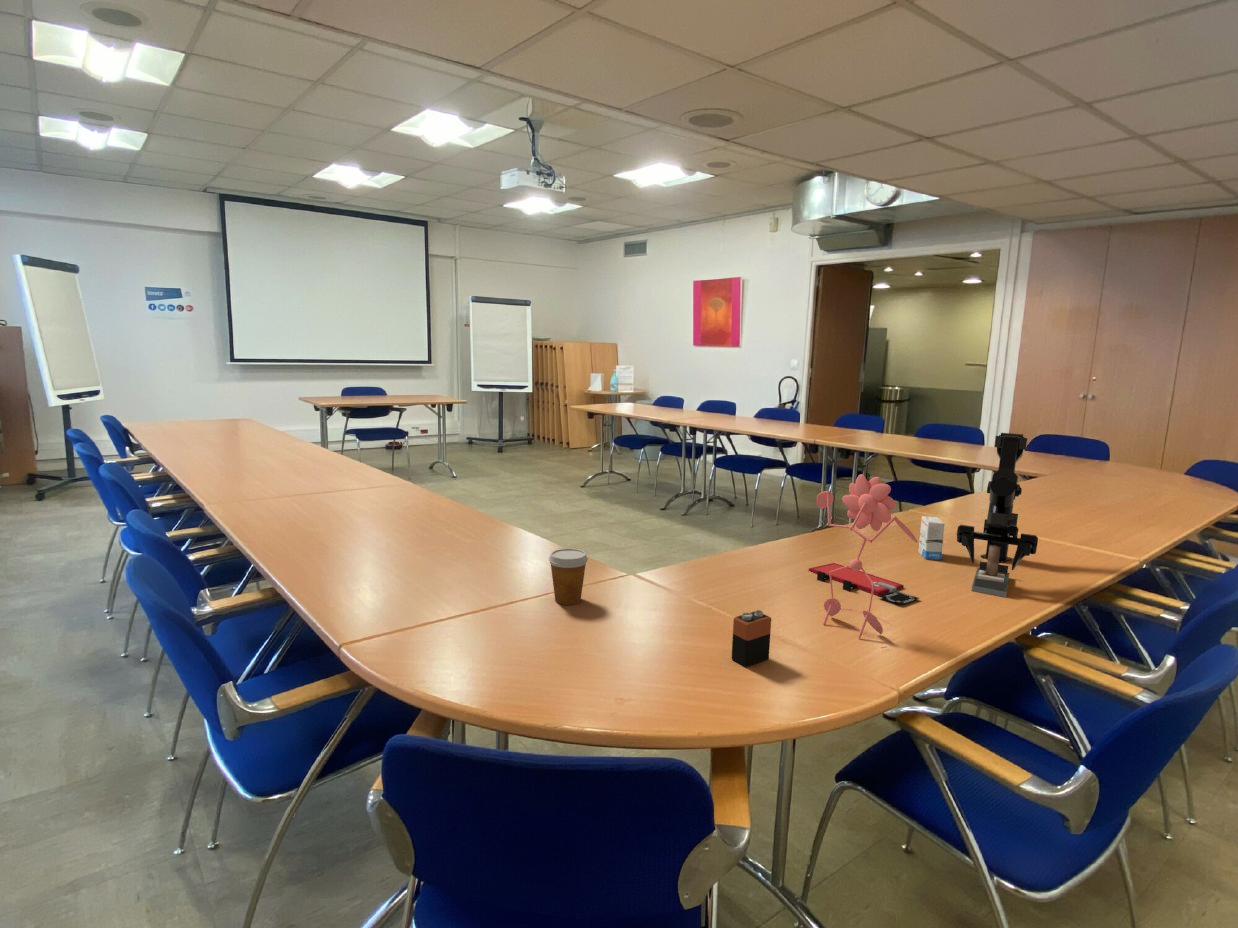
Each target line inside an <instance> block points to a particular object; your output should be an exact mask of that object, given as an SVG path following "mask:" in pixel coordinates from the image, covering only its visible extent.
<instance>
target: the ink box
mask: <svg viewBox="0 0 1238 928" xmlns="http://www.w3.org/2000/svg"><path fill="white" fill-rule="evenodd" d="M920 521H921V523H920V531H919V532H920V533H919V543H918V553H919V554H920V555H921V556H922V557H923V558H924V559H925V560H932V561H933V560H935V561H942V558H943V557H942V555H943V545H944V534H945V523H944V522H943V521H942V520H941V519H940V518H939V517H937V516H925V515H922V516H921V520H920Z"/></svg>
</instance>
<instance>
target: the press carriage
mask: <svg viewBox="0 0 1238 928" xmlns="http://www.w3.org/2000/svg"><path fill="white" fill-rule="evenodd" d="M999 556H1000V547H999V546H993V545H991V546H989V552H988V559H987V561H986V562H987V568H986V571H982V570H979V573H978V579H984V580H990V581H995V582H1001V583H1004V577H1005V574H999V573H997V572H998V564H1000V562H999Z"/></svg>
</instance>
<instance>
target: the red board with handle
mask: <svg viewBox="0 0 1238 928" xmlns="http://www.w3.org/2000/svg"><path fill="white" fill-rule="evenodd" d="M845 566H846V565H842V564H839V563H835V562H832V563H827V564H824V565H818V566H813V567H809V568H808V572H809V571H810V572H809V573H812V572H813V573H812V574H815V575H817V576H816V580H817V581H819V582H822V583H823V582H825V580H826V579H827V580H830V575H829V572H830V571H832V570H836V569H839V568H842V567H845ZM866 573H867V575H868V576H869V577H870V579H871V580H872V581H873V583H874V591H873V595H876V596H877V597H879V598H882V599H883V600H888V601H889V602H892V603H896V604H898V605H903V604H905V603H909V602H912V601H915V600H919V599H920V597H917V596H915V595H914V596H913V595H911V594H908V593H905V592H903V591H899V590H902V589H904V588H905V585H904V584H902V583H899V582H896V581H892V580H889V579H886V578H883V577H880V576H877V575H874V574H871V573H868V572H866ZM831 577H832V581H835V582H838V583H840V584H842V590H844V591H846V592H851V591H852V588H854V589H857V590H861V591H863V592H867V593H869V594H871V593H872V586H873V584H872V583H871V581H870V580H869V579H868V577H867V576H866V575H865V573H864V572H863V571H862V570H859V571H854V570H852V569H851V568H850V567H847V568H844V569H841V570H838V571H834V572H831Z"/></svg>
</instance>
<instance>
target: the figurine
mask: <svg viewBox="0 0 1238 928" xmlns="http://www.w3.org/2000/svg"><path fill="white" fill-rule="evenodd" d="M848 490H849V494H846V495H843V496H842V497H841V500H842V503H843V505H844V506H845V507H847V508H848V510H847V512H846V513H847V517H848V518H849V519H852V520H854V521H853V523H852V525H844V524H843V525H842V524H834V523H832V522H831V521H832V519H831V505H833V502H834V494H833V493H832V492H831V491H830V490H826V491H822V492H820V493H818V494H817V496H816V499H815V503H816V505H817V508H819V510H823V509H826V508H827V524H828V527H833V528H834V527H835V528H843V529H849V530H850V531H851V532H852V531H853V532H854V533H856V535H858V536H859V537H861V539H863V542H862V544H861V547H860V549H859V552H858V554H857V557H856V558H854V559H851V560H850V562H849V565H844V566H845V567H842V568H839V569H836V570H832V571H830V572H829V575H830V579H829V583H830V594H831V597H829V598H826V600H825V601H824V602H823V607H824V610H825V612H826V614H825V617H824V620H823V623H822V624H823V625H826V624H827V621H828V618H829V616H830V617H833V616H835V615H837V614H838V613H840V611H841V610H844V611H850V612H855V613H860V614H863V617H864V620H863V622H862V625H861V628H860V631H859V634H858V637H857V638H858V639H861V638H862V635H863V632H864V630H865V628H866V627H865V626H867V625H866V624H867V623H868V624H869V625H870V627H872V628H873V629H874V630H875V631H876V632H877V633H878V634H880V635H882V634H883V632H884V631H883V626H882V624H881V622H880V621H883V622H884V623H887V624H889V625H890V626H892V624H891V623H890V622H888V621H886V620H884V619H882V618H879V617H877V616H876V615H874V614H873V613H872V612H871V608H872V603H873V595H874V594H873V591H874V583H873V581H872V580H871V579H870V577H869V576H868V575H867V573H868V572H866V571H865V570H864V568H863V562H862V561H861V560H860V556H861V554H862V553H863V550H864V547H865V546H866V543H867V541H868V542H870V543H873V542H874V541H875V540H877V538H878V537H879V536H880V535H881V534H882V533H883V532H884V531H885V530H886V529H887V528H888V527H889V526H890V525H891V524H893V522H894V521H895V523H896V524H897V525H898V527H899V528H900V529H901V530H902V531H903V532H904V533H905V534H906V535H907V536H908V537H909V538H910V539H911V540H912V541H914V543H916V544H917V543H918V540H917V538H916V536H915V535H914V533H913V532H912V531H911V530H910V529H909V528H908V527H907V526H906V525H905V524H904V523H903V522H902V521H901V520H900V518H898V517H897V516H895V515H894V516H892V514H891V512H890V511H892V510H894V509H897V503H896V501H895V500H894V499H893V497H891V496H889V494H891V490H892V488H891V486H890V485H889V484H887V483H882V479H881V477H880V476H874V477H872V478H871V479H869V480H867V478H866V476H865V475H864V474H863V473H861V474H859V475H858V476H857V478H856V480H855V483H854V482H851V483H849V486H848ZM883 523H884V524H885V525H884V526H883V527H882V525H883ZM869 525H870V527H871V529H872V530H873V531H876V532H877V533H876V534H874V535H873V536H872V538H870V537H869V536H867V535H865V534H864V533H862V532H861V531H859V530H863V529H865V528H866V527H868V526H869ZM855 527H856V528H857V529H856V528H855ZM847 567H849V568H851V569H852V570H854V571H861V572H864V573H865V575H866V576H867V577H868V579H869V580H870V581H871V583H872V584H873V586H872V593H870V594H871V595H870V598H869V599H870V600H869V606H868V610H867V609H864V610H862V612H861V611H857V610H853V609H852V608H851V609H850V608H849V609H848V608H841V607H842V605H841V603H840V601H839V600H838V599H837V598H835V597H834V589H833V580H832V577H831V572H834V571H838V570H841V569H844V568H847ZM878 619H879V620H880V621H879V620H878ZM884 648H886V646H882V647H881V649H884Z"/></svg>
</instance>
